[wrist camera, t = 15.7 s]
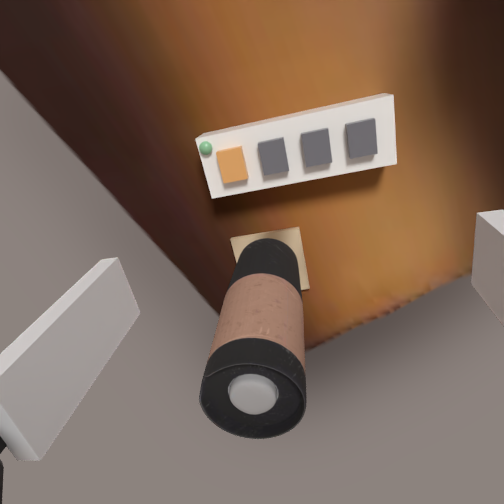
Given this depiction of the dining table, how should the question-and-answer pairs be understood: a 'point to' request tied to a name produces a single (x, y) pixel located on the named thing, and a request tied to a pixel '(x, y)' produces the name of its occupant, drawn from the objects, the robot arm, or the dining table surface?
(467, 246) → the dining table surface
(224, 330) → the travel mug
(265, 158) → the socket strip
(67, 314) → the robot arm
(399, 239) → the dining table surface
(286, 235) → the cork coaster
